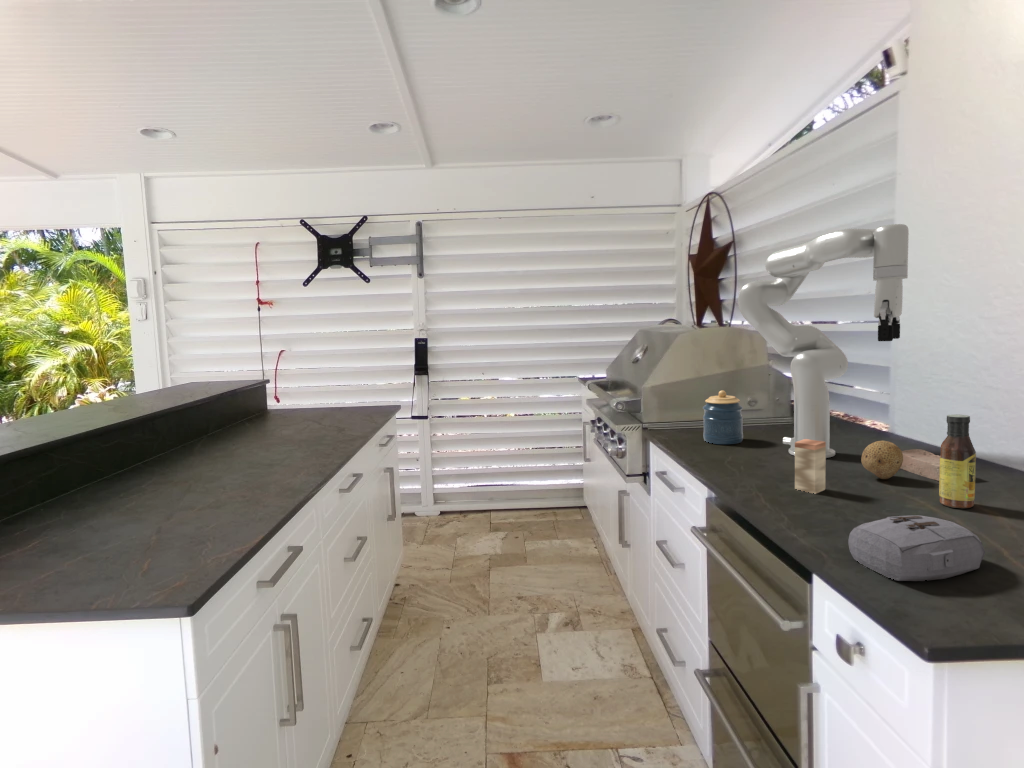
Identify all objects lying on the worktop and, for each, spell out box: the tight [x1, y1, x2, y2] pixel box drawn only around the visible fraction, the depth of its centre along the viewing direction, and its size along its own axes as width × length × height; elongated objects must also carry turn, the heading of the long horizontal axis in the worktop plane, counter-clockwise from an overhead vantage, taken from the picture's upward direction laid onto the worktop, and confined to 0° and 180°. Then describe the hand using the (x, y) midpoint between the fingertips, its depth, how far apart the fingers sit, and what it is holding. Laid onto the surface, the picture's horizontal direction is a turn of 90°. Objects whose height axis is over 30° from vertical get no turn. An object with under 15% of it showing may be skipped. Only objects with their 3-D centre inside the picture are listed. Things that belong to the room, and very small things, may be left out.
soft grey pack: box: [847, 514, 986, 582], centre depth 101 cm, size 15×8×20 cm
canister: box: [702, 389, 744, 445], centre depth 200 cm, size 13×13×18 cm
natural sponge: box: [860, 440, 903, 480], centre depth 148 cm, size 9×9×10 cm
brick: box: [899, 448, 941, 482], centre depth 152 cm, size 17×8×5 cm, turn 5°
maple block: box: [794, 439, 827, 495], centre depth 143 cm, size 5×5×12 cm
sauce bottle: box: [938, 414, 977, 509], centre depth 127 cm, size 6×6×20 cm
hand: (888, 339), depth 153 cm, fingers open, 9 cm apart
